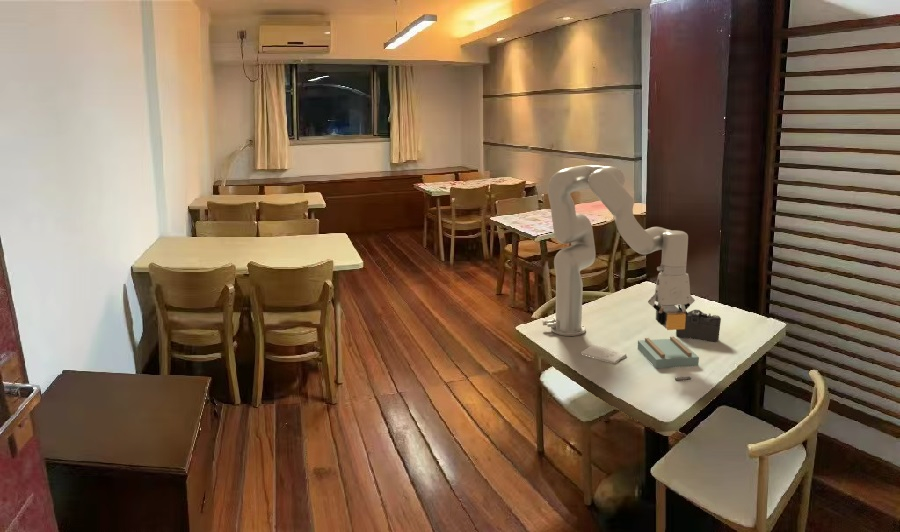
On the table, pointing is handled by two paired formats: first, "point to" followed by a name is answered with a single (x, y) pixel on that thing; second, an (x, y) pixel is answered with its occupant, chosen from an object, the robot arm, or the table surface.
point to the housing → (673, 318)
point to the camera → (700, 326)
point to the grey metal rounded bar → (683, 378)
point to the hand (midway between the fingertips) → (669, 322)
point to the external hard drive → (603, 354)
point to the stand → (667, 353)
